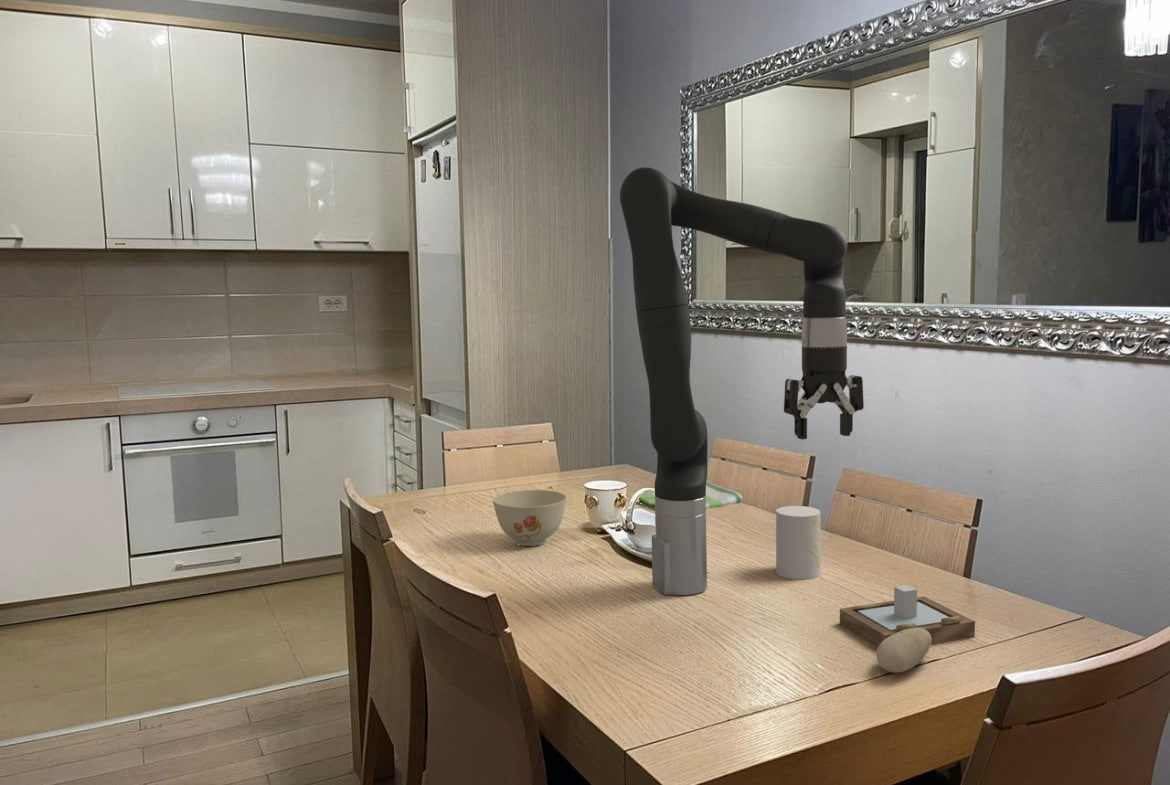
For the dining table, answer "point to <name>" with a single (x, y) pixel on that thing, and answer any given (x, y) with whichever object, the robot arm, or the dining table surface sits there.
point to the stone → (903, 649)
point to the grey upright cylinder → (798, 542)
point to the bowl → (530, 514)
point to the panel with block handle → (903, 611)
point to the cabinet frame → (948, 630)
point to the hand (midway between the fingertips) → (823, 437)
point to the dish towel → (713, 497)
